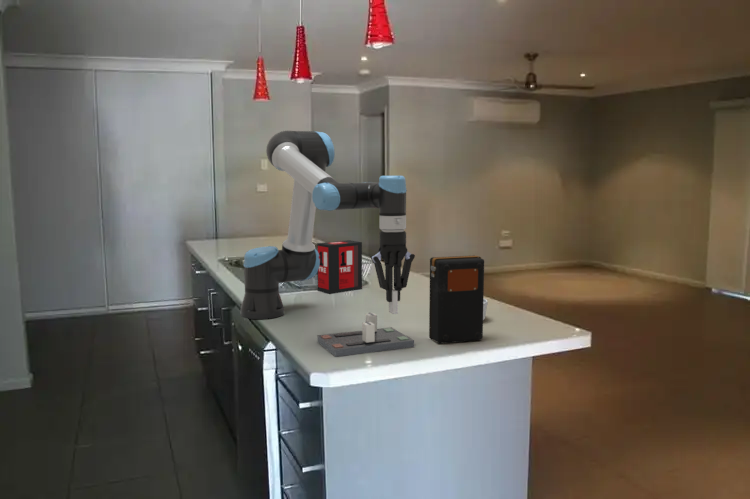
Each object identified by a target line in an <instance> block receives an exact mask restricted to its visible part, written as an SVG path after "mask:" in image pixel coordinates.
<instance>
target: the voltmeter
mask: <svg viewBox="0 0 750 499" xmlns="http://www.w3.org/2000/svg"><path fill="white" fill-rule="evenodd" d="M484 281H485V259H483V258H482V257H481V256H479V255H475V254H473V255H458V256H457V255H456V256H437V257H435V256H432V257H430V259H429V307H428V308H429V312H428V313H429V314H428V315H429V316H428V318H429V321H428V322H429V323H428V324H429V326H428V328H429V329H428V330H429V331H428V333H429V334H428V337H429V339H430V340H433V341H435V342H437V343H438V344H447V343H459V342H467V341H468V342H471V341H481V340H482V339H483V337H484V336H483V334H484V330H483V329H484V327H483V326H484V320H483V298H484V290H485V288H484V287H485V286H484V285H485V282H484Z"/></svg>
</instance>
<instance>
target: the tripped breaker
mask: <svg viewBox="0 0 750 499" xmlns="http://www.w3.org/2000/svg"><path fill="white" fill-rule="evenodd" d="M361 331H362V340H363V341H365V342H366V343H368V342H375V324H373V323H371V322H365V321H364V322H362V330H361Z"/></svg>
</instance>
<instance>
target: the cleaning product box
mask: <svg viewBox="0 0 750 499" xmlns="http://www.w3.org/2000/svg"><path fill="white" fill-rule="evenodd" d="M316 250H317V251H318V253H319V259H320V266H319V269H318V272H317V274H316V275H317V277H316V278H317V291H318V292H322V293H325V294H327V295H328V294H329V295H332V294H339V293H346V292H352V291H359V290H363V242H362V241H358V240H349V239H348V240H337V241H328V242H317V243H316Z"/></svg>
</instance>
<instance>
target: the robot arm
mask: <svg viewBox="0 0 750 499" xmlns="http://www.w3.org/2000/svg"><path fill="white" fill-rule="evenodd" d="M265 152H266V156H267V159H268V161H269V163H270V165H272V166H273V167H274V169H277V170H278V171H281V172H285V173H286V174H287V175H289V176H290V177H291V179H293V185H292V186H293V188H292V196H291V203H290V204H291V205H290V214H289V222H288V231H287V238H286V239H285V240H283V242H282V245H281V246H282V247H281V249H278V247H276V246H273V245H272V246H271V245H269V246H260V247H255V248H251V249H249V250H248V251H246V252H245V254H244V256H243V258H244V259H243V270H244V271H243V273H244V275H243V276H244V296H243V299H242V303H241V305H240V309H239V310H240V312H239V313H240V317H242V318H245V319H251V320H266V319H267V320H269V319H275V318H280V317H282V316H284V315H285V306H284V303H283V300H282V298H281V294H280V289H279V288H280V286H279V284H282V283H290V282H292V283H293V282H302V281H305V280H311V279H313V278H314V277H315V276H316V275H317V272H318V269H319V266H320V259H319V253H318V251H317V248H316V245H315V244H314V242H312V241H313V233H314V226H315V225H314V224H315V219H316V211H317V209H318V210H320V211H330V212H331V211H335V210H336V211H339V210H340V211H341V210H358V209H362V210H363V209H379V210H378V211H379V212H378V213H379V214H378V215H379V223H378V224H379V225H378V226H379V230H381V231H379V248H378V250H377V253H376V254H375V255H371V257H370V260H371V261H372V263H373V265H374V269H375V272H376V277H377V282H378V285H379V288H380V289H381V290H382V289H383V290H385V300H386V302H388V312H389V313H390V314H392V315H394V314H395V315H396V314H398V313H399V312H398V310H399V308H398V307H399V305H398V304H399V302H401V291H403V289H405V288H407V285H408V280H409V276H410V271H411V268H412V262H413V261H414V259H415V257H416V255H415V254H413V253H411V252H410V251H408V247H407V232H406V229H407V191H408V190H407V184H406V182H407V180H406V177H405V176H404V175H380V176H379V178H378V179H379V180H378V182H374V181H362V182H339V181H338V180H336V179H335V178H334V177H332V176H331V175H330V174H329V173H327V172H326V168H328V167H330V166H332V165H333V163H334V160H335V146H334V143H333V141H332V138H331V137H330V136H329V135H328V134H327V133H325V132H322V131H315V130H283V131H279V132H277V133H275V134H274V135H273V136H272V137H271V138H270V139H269V140H268V143H267V146H266V151H265ZM403 259H404V261H403ZM382 260H383V261H384V262H383V263H384V268H385V270H384V268H383V264H382V262H381V261H382ZM402 262H403V266H402ZM384 271H385V272H384ZM268 318H269V319H268Z"/></svg>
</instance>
